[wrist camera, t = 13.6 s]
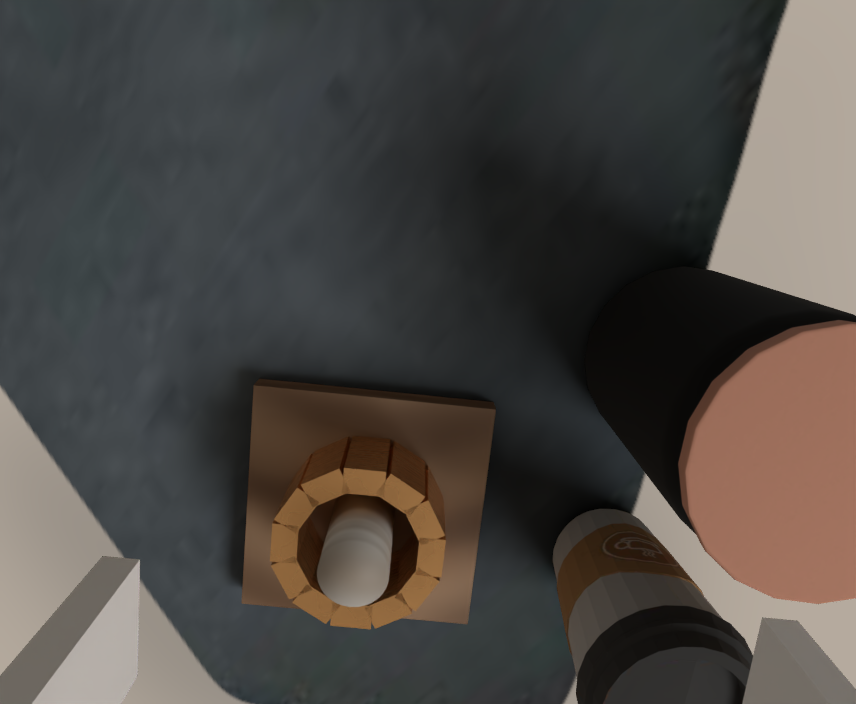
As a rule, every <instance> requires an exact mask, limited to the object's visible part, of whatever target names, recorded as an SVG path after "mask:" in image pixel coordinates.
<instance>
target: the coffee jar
mask: <svg viewBox="0 0 856 704" xmlns="http://www.w3.org/2000/svg"><path fill="white" fill-rule="evenodd" d="M584 363H585V371H586V379H587V387H588V390H589V392H590V394H591V396H592V398H593V400H594V402H595V404H596V406H597V408H598V410H599V412H600V414H601V415H602V416H603V418H604V419H605V420H606V422H607V423H608V424H609V425H610V427H611V428H612V429H613V431H614V432H615V433H616V435H617V436H618V437H619V439H620V440H621V441H622V443H623V444H624V445H625V447H626V448H627V449H628V451H629V452H630V453H631V455H632V456H633V457H634V458H635V460H636V461H637V462H638V464H639V465H640V466H641V468H642V469H643V470H644V472H645V473H646V474H647V476H648V477H649V478H650V480H651V481H652V482H653V484H654V485H655V486H656V487H657V489H658V490H659V491H660V493H661V494H662V495H663V497H664V498H665V499H666V501H667V502H668V503H669V505H670V506H671V507H672V508H673V510H674V511H675V513H676V514H677V515H678V517H679V518H680V519H681V520H682V521H683V522H684V523H685V524H686V525H687V526H688V527H689V528H690V529H691V530H692V531H693V532H694V533H695V534H696V535H697V537H698V539H699V541H700V543H701V545H702V546H703V548H704V550H705V551H706V552H707V553H708V554H709V555H710V556H711V557H712V558H713V559H714V560H715V561H716V562H717V563H718V564H719V565H720V566H721V567H722V568H723V569H724V570H725V571H726V572H727V573H728V574H729V575H730V576H732V578H733V579H735V580H737V581H739V582H741V583H743V584H745V585H747V586H749V587H752V588H754V589H756V590H758V591H760V592H762V593H764V594H767V595H769V596H771V597H773V598H777V599H785V600H792V601H799V602H807V603H815V604H821V603H827V602H834V601H840V600H847V599H853V598H856V316H855V315H853V314H849V313H847V312H843V311H840V310H837V309H834V308H830V307H827V306H824V305H821V304H818V303H815V302H811V301H808V300H805V299H802V298H799V297H795V296H792V295H789V294H786V293H782V292H779V291H776V290H773V289H770V288H767V287H763V286H760V285H757V284H754V283H751V282H747V281H744V280H741V279H738V278H735V277H731V276H728V275H725V274H722V273H718V272H715V271H712V270H705V269H698V268H692V267H685V266H682V267H676V268H670V269H664V270H658V271H653V272H651V273H649V274H647V275H645V276H643V277H641V278H639V279H637V280H635V281H633V282H631V283H629V284H627V285H626V286H625V287H624V288H623V289H622V290H621V291H620V292H619V293H618V294H616V295H615V296H614V297H613V298H612V299H611V300H610V301H609V302H608V303H607V304H606V305H605V306H604V308H603V309H602V311H601V313H600V315H599V317H598V318H597V320H596V322H595V324H594V326H593V327H592V329H591V331H590V334H589V339H588V344H587V349H586V354H585V359H584Z"/></svg>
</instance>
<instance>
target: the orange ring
mask: <svg viewBox="0 0 856 704" xmlns="http://www.w3.org/2000/svg"><path fill="white" fill-rule="evenodd" d="M390 440H391V439H384V438H374V437H364V436H354V435H353V437H352V441H351V440H350V438H349V436H348V437H345V438H343V439H341V440H338V441H336V442H334V443H331V444H329V445H327V446H324V447H322V448H320V449H317V450H315V451H314V454H312V453H311V454H310V456H309V457H308V458H307V460H306V461H305V463H304V464H303V465H302V467H301V468H300V469H299V471H298V472H297V473H296V475H295V476H294V478H293V479H292V480H291V482H290V484H289V486H288V488H287V491H286V493H285V495H284V497H283V500H282V502H281V504H280V506H279V509H278V511H277V513H276V515H275V518H274V521H273V523H272V535H271V551H270V561H271V562H272V564H271V567H272V569H273V571H274V572H275V574H276V576H277V578H278V580H279V582H280V584H281V585H282V587H283V589H284V591H285V593H286V595H287V596H288V598H289V599H292V598H294V599H293V602H292V603H293V604H295V605H297V606H298V607H300V608H301V609H303V610H304V611H306V612H308V613H309V614H311V615H312V616H314V617H316V618H317V619H319V620H320V621H322V622H323V623H325V624H326V623H327V622H328V621H329V619H330V618H331V624H330V626H341V627H352V628H363V629H371V622H372V623H373V625H374V627H375V628H378V627H380V626H383V625H385V624H388V623H390V622H393V621H395V620H398V619H400V618H403V617H405V616H408V615H410V614H412V609H413V610H415V611H416V610H417V609H418V608H419V606H420V605H421V604H422V603H423V602H424V600H425V599H426V598H427V597H428V595H429V594H430V593H431V592H432V590H433V589H434V588H435V587H436V585H437V584H438V583H439V582H440V577H442V569H443V560H444V552H445V544H446V532H445V516H444V500H443V496H442V493H441V491H440V489H439V487H438V485H437V483H436V481H435V479H434V476H433V474H432V472H431V470H430V468H429V466H428V465H426V466H425V461H424V460H422V459H421V458H419V457H418V456H416V455H415V454H414V453H412V452H411V451H409V450H408V449H406V448H405V447H403V446H402V445H400V444H399V443H397V442H396V441H394V442H393V444H392V445H391V446H390ZM346 493H348V494H358V495H368V496H379V497H381V498H382V499H384V500H385V501H387V502H388V503H390V504H391V505H393V506H394V507H396V508H397V509H399V510H400V511H402V512H403V513H405V514H406V516H407V518H408V520H409V522H410V524H411V526H412V528H413V530H414V532H413V534H412V535H411V536H410V537H409V539H408V540H407V541H406V543H405V544H404V545H403V546H402V548H401V549H400V550H397V551H395V552H392V553H391V562H390V573H389V581H388V585H387V587H386V589H385V591H384V592H383V594H382V595H381V596H380V597H379V598H378V599H377V600H375V601H374V602H372V603H370V604H368V605H365V606H360V607H347V606H343V605H340V604H337V603H335V602H334V601H332V600H331V599H329V598H328V597H327V596H326V595H325V594H324V593H323V591H322V590H321V588H320V586H319V583H318V579H317V568H318V564H319V561H320V557H321V553H322V550H323V546H324V542H323V541H322V539H321V537H320V535H319V534H318V532H317V530H316V528H315V526H314V524H313V522H312V520H311V518H310V517H311V513H312V512H313V510H314V509H315V508H316V506H318V505H320V504H322V503H325V502H327V501H330V500H332V499H334V498H337V497H339V496H341V495H344V494H346Z"/></svg>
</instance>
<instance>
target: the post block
mask: <svg viewBox="0 0 856 704" xmlns="http://www.w3.org/2000/svg"><path fill="white" fill-rule="evenodd" d="M495 413H496V408H495V405H494V402H488V401H478V400H468V399H458V398H448V397H438V396H428V395H418V394H408V393H398V392H388V391H378V390H368V389H358V388H348V387H338V386H329V385H319V384H309V383H299V382H289V381H279V380H269V379H259V380H258V381H257V382H256V383H255V384H254V388H253V407H252V425H251V443H250V461H249V479H248V497H247V515H246V533H245V552H244V570H243V588H242V604H253V605H264V606H275V607H286V608H297V609H301V608H300V607H298V606H297V605H295V604H293V603H292V602H293V599H294V598H292V599H289V598H288V596H287V595H286V593H285V591H284V589H283V587H282V585H281V584H280V582H279V580H278V578H277V576H276V574H275V572H274V571H273V569H272V567H271V564H272V562H271V561H270V551H271V535H272V523H273V521H274V518H275V515H276V513H277V511H278V509H279V506H280V504H281V502H282V500H283V497H284V495H285V493H286V491H287V488H288V486H289V484H290V482H291V480H292V479H293V478H294V476H295V475H296V473H297V472H298V471H299V469H300V468H301V467H302V465H303V464H304V463H305V461H306V460H307V458H308V457H309V456H310V454H311V453H312V454H314V451H315V450H317V449H320V448H322V447H324V446H327V445H329V444H331V443H334V442H336V441H338V440H341V439H343V438H345V437H348V436H349V438H350V440H351V441H352V437H353V435H354V436H364V437H374V438H384V439H391V440H390V446H391V445H392V444H393V442H394V441H396V442H397V443H399V444H400V445H402V446H403V447H405V448H406V449H408V450H409V451H411V452H412V453H414V454H415V455H416V456H418V457H419V458H421V459H422V460H424V461H425V466H426V465H428V466H429V468H430V470H431V472H432V474H433V476H434V479H435V481H436V483H437V485H438V487H439V489H440V491H441V493H442V496H443V500H444V516H445V532H446V544H445V552H444V560H443V569H442V577H440V582H439V583H438V584H437V585H436V587H435V588H434V589H433V590H432V592H431V593H430V594H429V595H428V597H427V598H426V599H425V600H424V602H423V603H422V604H421V605H420V606H419V608H418V609H417V610H416V611H415V610H413V609H412V614H410V615H408V616H405V617H403V618H406V619H416V620H427V621H438V622H449V623H460V624H468V616H469V609H470V601H471V594H472V586H473V579H474V571H475V564H476V556H477V549H478V541H479V533H480V526H481V518H482V511H483V503H484V496H485V488H486V481H487V473H488V466H489V458H490V450H491V443H492V435H493V428H494V420H495ZM310 518H311V520H312V522H313V524H314V526H315V528H316V530H317V532H318V534H319V535H320V537H321V539H322V541H323V542H324V546H323V550H322V553H321V557H320V561H319V564H318V568H317V579H318V583H319V586H320V588H321V590H322V591H323V593H324V594H325V595H326V596H327V597H328V598H329V599H331V600H332V601H334V602H335V603H337V604H340V605H343V606H347V607H360V606H365V605H368V604H370V603H372V602H374V601H375V600H377V599H378V598H379V597H380V596H381V595H382V594H383V592H384V591H385V589H386V587H387V585H388V581H389V573H390V562H391V553H392V552H395V551H397V550H400V549H401V548H402V546H403V545H404V544H405V543H406V541H407V540H408V539H409V537H410V536H411V535H412V534H413V532H414V530H413V528H412V526H411V524H410V522H409V520H408V518H407V516H406V514H405V513H403V512H402V511H400V510H399V509H397V508H396V507H394V506H393V505H391V504H390V503H388V502H387V501H385V500H384V499H382V498H381V497H379V496H368V495H358V494H348V493H346V494H344V495H341V496H339V497H337V498H334V499H332V500H330V501H327V502H325V503H322V504H320V505H318V506H316V508H315V509H314V510H313V512H312V513H311V517H310Z"/></svg>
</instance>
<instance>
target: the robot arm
mask: <svg viewBox="0 0 856 704" xmlns="http://www.w3.org/2000/svg"><path fill="white" fill-rule="evenodd" d="M139 579H140V560H139V559H128V558H118V557H107V556H102V558H101V559H100V560H99V561H98V562H97V563H96V564H95V566H94V567H93V568H92V569H91V570H90V572H89V573H88V574H87V575H86V576H85V577H84V579H83V580H82V581H81V582H80V583H79V584H78V585H77V587H76V588H75V589H74V590H73V591H72V593H71V594H70V595H69V596H68V597H67V598H66V599H65V601H64V602H63V603H62V604H61V605H60V607H59V608H58V609H57V610H56V611H55V612H54V614H53V615H52V616H51V617H50V618H49V620H48V621H47V622H46V623H45V624H44V625H43V626H42V628H41V629H40V630H39V631H38V632H37V633H36V635H35V636H34V637H33V638H32V639H31V640H30V642H29V643H28V644H27V645H26V646H25V647H24V649H23V650H22V651H21V652H20V653H19V654H18V656H17V657H16V658H15V659H14V660H13V661H12V663H11V664H10V665H9V666H8V667H7V668H6V670H5V671H4V672H3V673H2V674H1V676H0V704H121V703H122V702H123V700H124V698H125V696H126V694H127V693H128V691H129V689H130V688H131V686H132V684H133V682H134V681H135V679H136V677H137V675H138V674H137V673H138V628H139V626H138V625H139ZM742 704H856V689H855V688H854V687H853V686H852V684H851V683H850V682H849V681H848V680H847V678H846V677H845V676H844V675H843V674H842V673H841V671H839V669H838V668H837V667H836V666H835V664H834V663H833V662H832V661H831V660H830V658H829V657H828V656H827V655H826V654H825V653H824V651H823V650H822V649H821V648H820V647H819V645H818V644H817V643H816V642H815V641H814V640H813V638H812V637H811V636H810V635H809V634H808V633H807V631H806V630H805V629H804V628H803V627H802V625H801V624H800V623H799V622H798V621H794V620H783V619H772V618H762V621H761V625H760V629H759V634H758V638H757V642H756V647H755V651H754V655H753V659H752V664H751V668H750V672H749V677H748V681H747V685H746V689H745V694H744V698H743V702H742Z"/></svg>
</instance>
